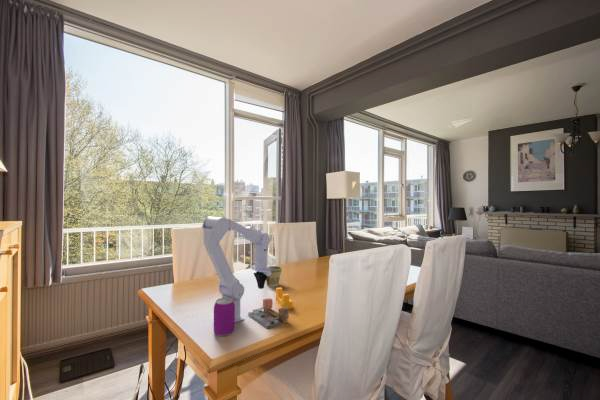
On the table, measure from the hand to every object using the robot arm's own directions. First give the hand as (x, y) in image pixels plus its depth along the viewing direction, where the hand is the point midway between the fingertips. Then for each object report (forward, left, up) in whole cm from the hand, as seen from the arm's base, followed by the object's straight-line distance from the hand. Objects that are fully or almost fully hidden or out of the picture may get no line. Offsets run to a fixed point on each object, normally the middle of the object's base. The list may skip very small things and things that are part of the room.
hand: (261, 288), depth 133 cm
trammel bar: (-3, -12, -9) cm, 15 cm away
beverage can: (-23, -13, -9) cm, 28 cm away
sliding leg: (-3, -6, -7) cm, 10 cm away
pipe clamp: (+11, -2, -10) cm, 15 cm away
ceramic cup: (+24, +27, -9) cm, 38 cm away
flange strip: (-6, -12, -9) cm, 16 cm away
